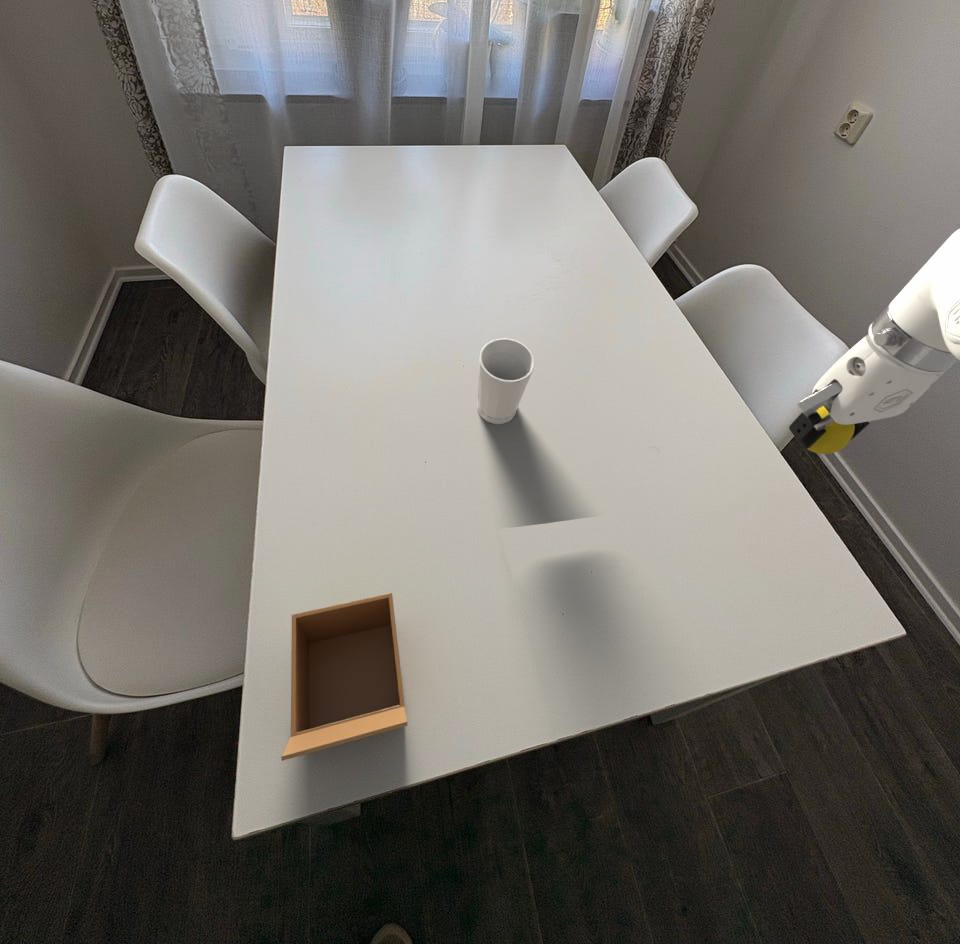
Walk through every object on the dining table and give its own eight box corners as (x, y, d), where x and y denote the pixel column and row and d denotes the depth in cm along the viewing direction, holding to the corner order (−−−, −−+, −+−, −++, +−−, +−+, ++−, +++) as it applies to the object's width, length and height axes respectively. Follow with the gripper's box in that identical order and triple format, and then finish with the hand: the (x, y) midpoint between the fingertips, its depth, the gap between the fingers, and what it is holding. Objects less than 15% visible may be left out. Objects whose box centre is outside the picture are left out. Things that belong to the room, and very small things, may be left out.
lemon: (819, 474, 65) (858, 439, 60) (777, 442, 68) (811, 406, 62) (836, 449, 68) (875, 413, 63) (795, 420, 71) (828, 383, 65)
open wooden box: (404, 725, 55) (405, 708, 48) (306, 752, 53) (290, 740, 45) (393, 621, 62) (392, 592, 54) (305, 641, 59) (291, 614, 52)
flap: (404, 706, 47) (404, 710, 47) (290, 737, 45) (290, 741, 45) (407, 721, 43) (407, 725, 43) (281, 756, 41) (281, 761, 41)
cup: (468, 388, 86) (475, 340, 78) (515, 384, 87) (527, 336, 79) (476, 431, 80) (484, 384, 72) (526, 426, 82) (540, 379, 74)
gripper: (877, 376, 49) (780, 473, 62) (1011, 356, 53) (895, 450, 66) (823, 319, 54) (743, 418, 67) (949, 304, 58) (852, 400, 71)
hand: (819, 433), depth 66 cm, fingers closed on lemon, 5 cm apart
